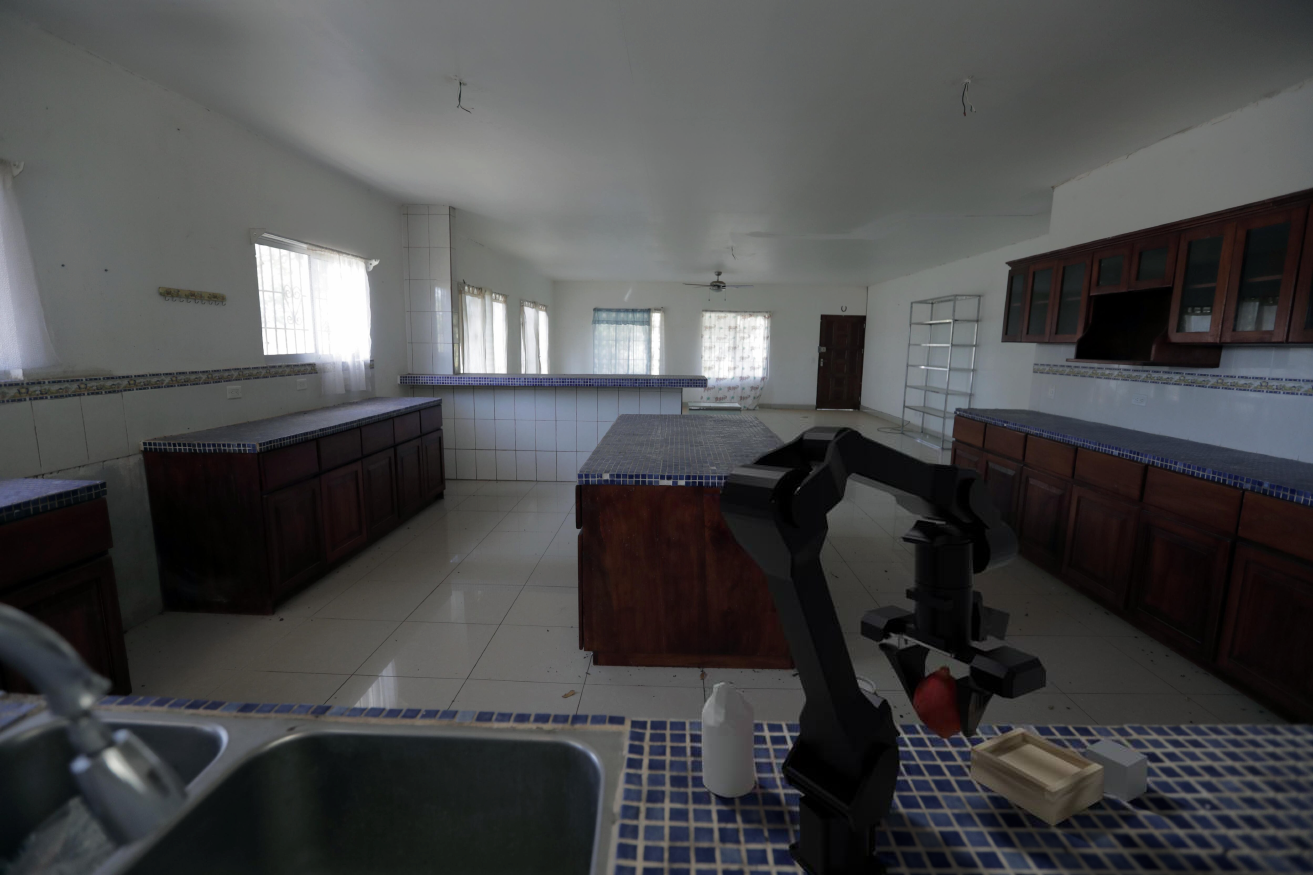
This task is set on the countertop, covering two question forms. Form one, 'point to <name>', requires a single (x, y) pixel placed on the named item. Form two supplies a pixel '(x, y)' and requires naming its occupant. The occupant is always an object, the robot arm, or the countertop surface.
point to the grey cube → (1120, 769)
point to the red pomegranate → (938, 703)
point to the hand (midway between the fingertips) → (942, 722)
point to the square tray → (1037, 775)
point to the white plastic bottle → (728, 743)
